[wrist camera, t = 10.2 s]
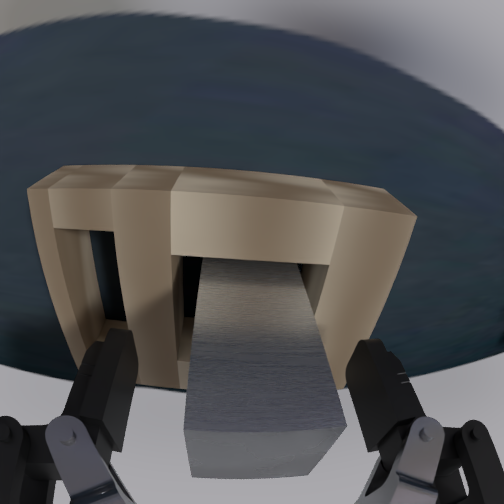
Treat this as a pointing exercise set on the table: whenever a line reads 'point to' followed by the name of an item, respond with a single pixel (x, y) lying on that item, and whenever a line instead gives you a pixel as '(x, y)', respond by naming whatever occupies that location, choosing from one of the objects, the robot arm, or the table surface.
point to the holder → (212, 251)
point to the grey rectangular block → (257, 375)
